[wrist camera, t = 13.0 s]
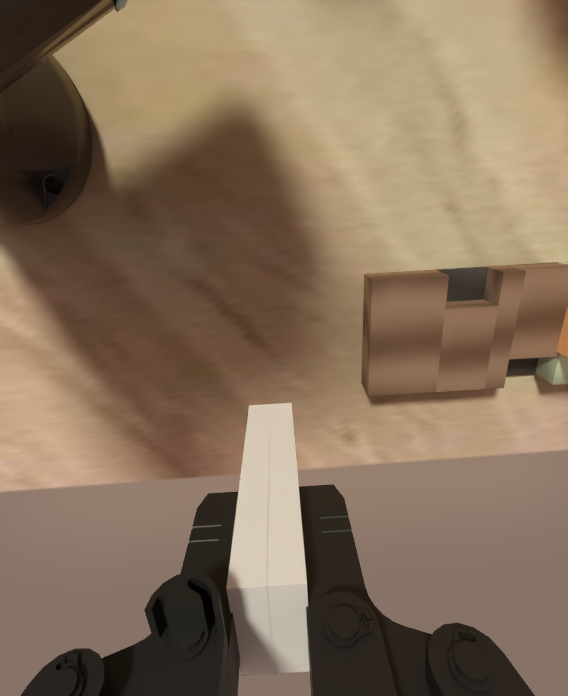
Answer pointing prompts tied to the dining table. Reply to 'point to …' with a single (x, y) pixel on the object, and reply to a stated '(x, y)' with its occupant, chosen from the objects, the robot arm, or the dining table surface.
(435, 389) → the board
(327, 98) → the dining table surface
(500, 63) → the dining table surface
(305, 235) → the dining table surface
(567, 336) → the block
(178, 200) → the dining table surface
